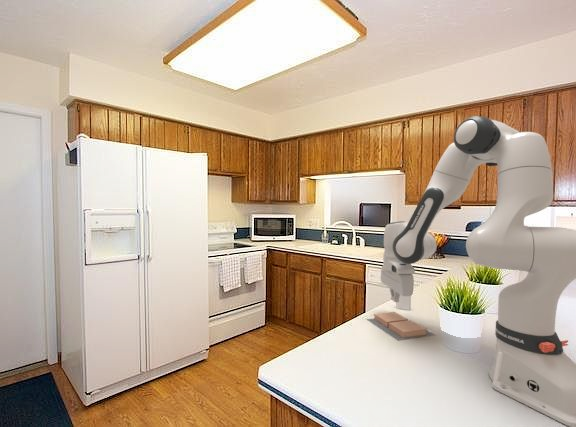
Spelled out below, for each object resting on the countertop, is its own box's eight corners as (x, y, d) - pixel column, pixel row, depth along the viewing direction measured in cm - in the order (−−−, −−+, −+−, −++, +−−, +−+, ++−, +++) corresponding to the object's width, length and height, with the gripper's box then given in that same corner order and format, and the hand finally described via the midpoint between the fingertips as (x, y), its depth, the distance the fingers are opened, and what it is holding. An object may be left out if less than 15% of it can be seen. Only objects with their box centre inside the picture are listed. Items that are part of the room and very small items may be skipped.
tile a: (426, 328, 102) (403, 331, 99) (426, 334, 102) (403, 338, 99) (410, 320, 110) (388, 322, 107) (409, 325, 110) (388, 328, 107)
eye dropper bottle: (405, 312, 125) (406, 283, 124) (394, 308, 130) (394, 280, 129) (412, 310, 127) (412, 282, 127) (401, 306, 132) (401, 279, 132)
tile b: (408, 319, 110) (387, 321, 108) (408, 324, 111) (387, 327, 108) (394, 311, 118) (374, 314, 115) (394, 317, 118) (374, 319, 116)
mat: (435, 335, 102) (435, 335, 102) (398, 341, 97) (398, 340, 97) (399, 316, 120) (399, 315, 120) (366, 320, 116) (366, 319, 116)
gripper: (376, 259, 123) (376, 293, 123) (399, 270, 103) (398, 310, 103) (391, 259, 124) (391, 292, 124) (417, 270, 103) (416, 310, 104)
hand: (395, 301), depth 113 cm, fingers closed
